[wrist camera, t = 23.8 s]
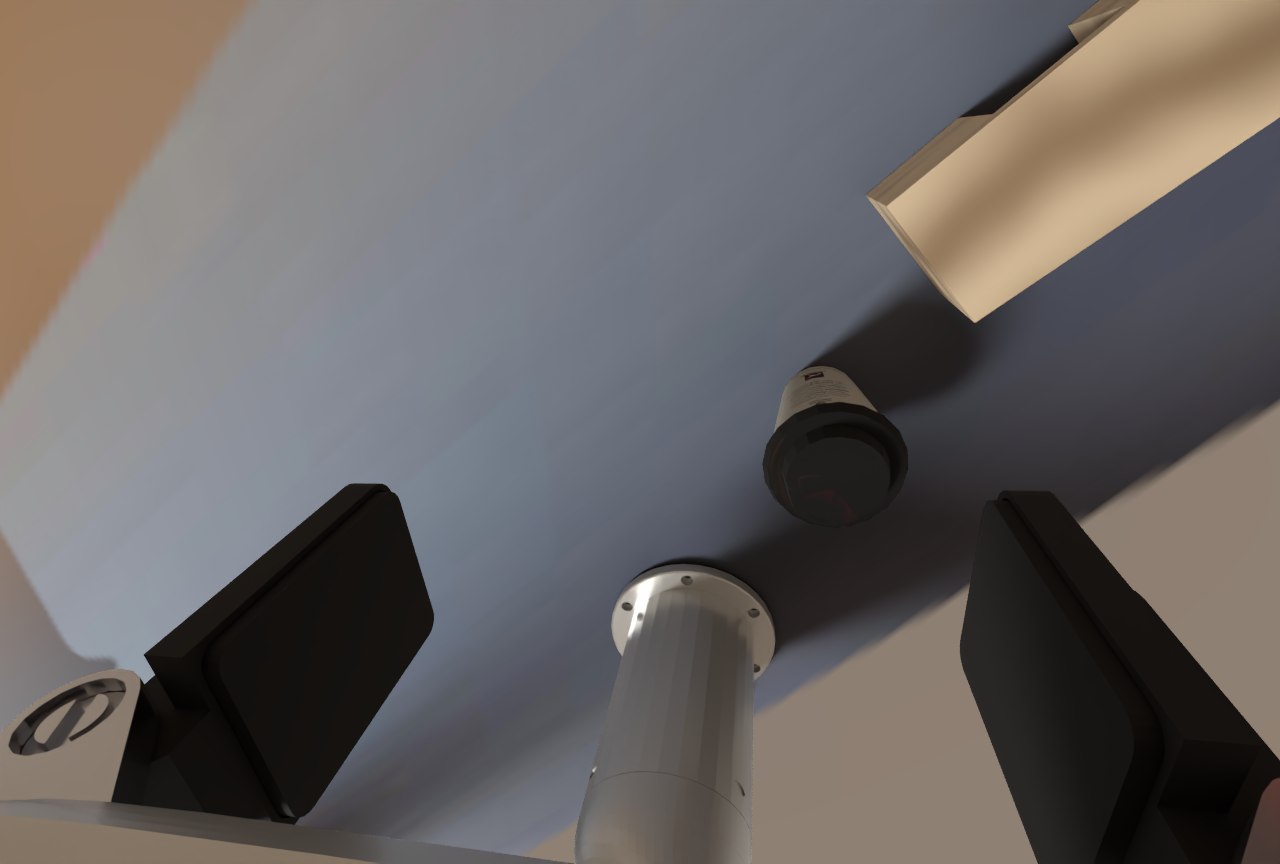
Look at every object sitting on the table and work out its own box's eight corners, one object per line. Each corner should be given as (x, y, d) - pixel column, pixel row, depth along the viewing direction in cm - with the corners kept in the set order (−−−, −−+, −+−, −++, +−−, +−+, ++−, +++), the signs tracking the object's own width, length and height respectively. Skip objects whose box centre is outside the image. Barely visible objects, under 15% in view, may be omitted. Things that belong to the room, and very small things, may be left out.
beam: (1270, 58, 27) (1395, 39, 22) (940, 294, 34) (974, 323, 28) (1194, -80, 26) (1308, -137, 20) (865, 195, 32) (886, 206, 27)
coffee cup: (785, 332, 36) (793, 395, 27) (898, 367, 36) (943, 442, 27) (746, 431, 39) (742, 515, 30) (849, 463, 39) (876, 559, 30)
